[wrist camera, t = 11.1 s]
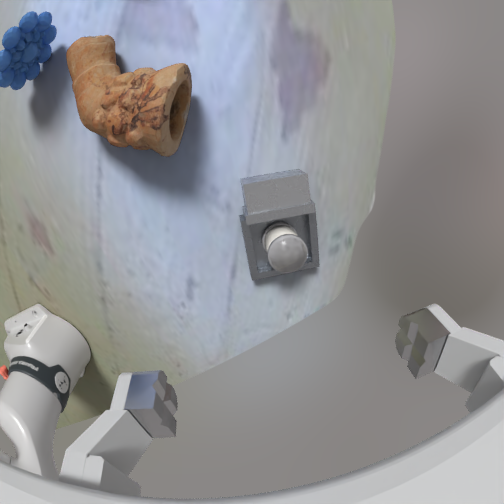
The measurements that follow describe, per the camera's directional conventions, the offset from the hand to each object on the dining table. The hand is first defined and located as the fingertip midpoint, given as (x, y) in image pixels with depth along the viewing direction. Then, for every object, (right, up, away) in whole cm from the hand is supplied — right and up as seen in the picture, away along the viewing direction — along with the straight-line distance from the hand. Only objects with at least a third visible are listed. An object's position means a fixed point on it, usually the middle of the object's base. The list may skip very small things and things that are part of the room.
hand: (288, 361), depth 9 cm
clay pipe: (-16, +24, +22) cm, 36 cm away
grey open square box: (+2, +8, +31) cm, 32 cm away
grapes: (-32, +32, +16) cm, 48 cm away
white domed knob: (+3, +5, +31) cm, 32 cm away
